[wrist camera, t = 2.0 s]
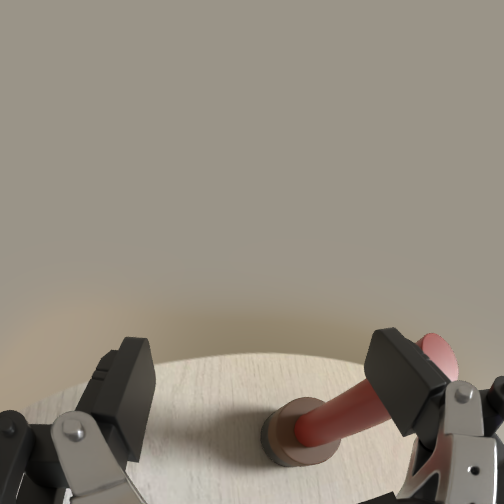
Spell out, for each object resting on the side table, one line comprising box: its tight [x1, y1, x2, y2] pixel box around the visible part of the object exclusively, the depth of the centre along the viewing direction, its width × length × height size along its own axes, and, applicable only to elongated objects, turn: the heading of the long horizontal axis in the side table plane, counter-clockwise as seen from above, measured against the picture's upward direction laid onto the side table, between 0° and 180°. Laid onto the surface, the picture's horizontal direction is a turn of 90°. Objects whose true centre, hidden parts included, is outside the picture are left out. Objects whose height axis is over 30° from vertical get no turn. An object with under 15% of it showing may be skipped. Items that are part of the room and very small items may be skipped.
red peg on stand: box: [261, 333, 458, 467], centre depth 13 cm, size 5×5×14 cm
